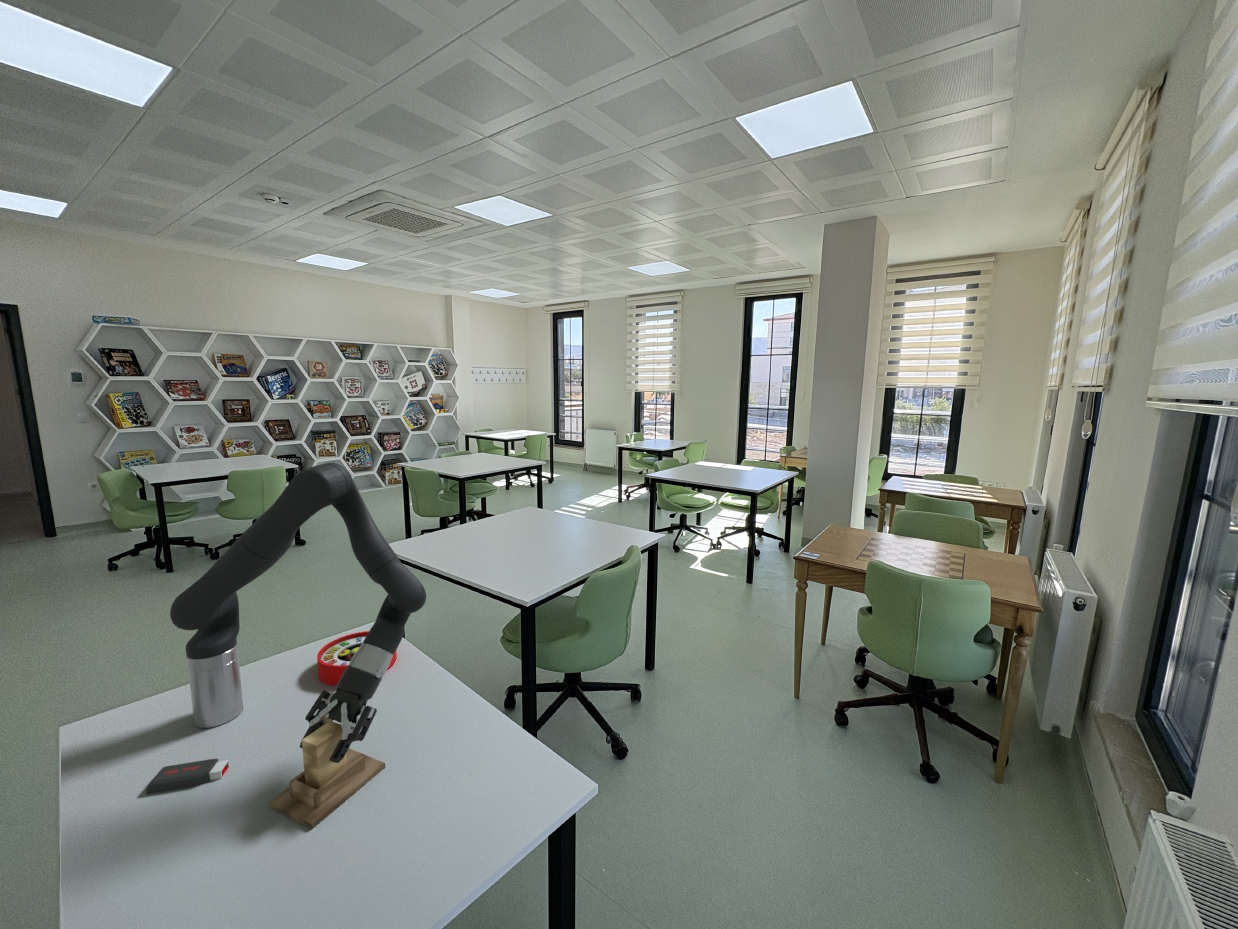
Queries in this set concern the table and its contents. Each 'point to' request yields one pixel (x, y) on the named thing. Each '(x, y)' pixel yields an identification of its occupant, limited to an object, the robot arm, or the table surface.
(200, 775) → the usb drive
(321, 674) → the toy clock
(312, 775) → the oak plank
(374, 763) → the groove board
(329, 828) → the table surface
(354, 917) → the table surface
